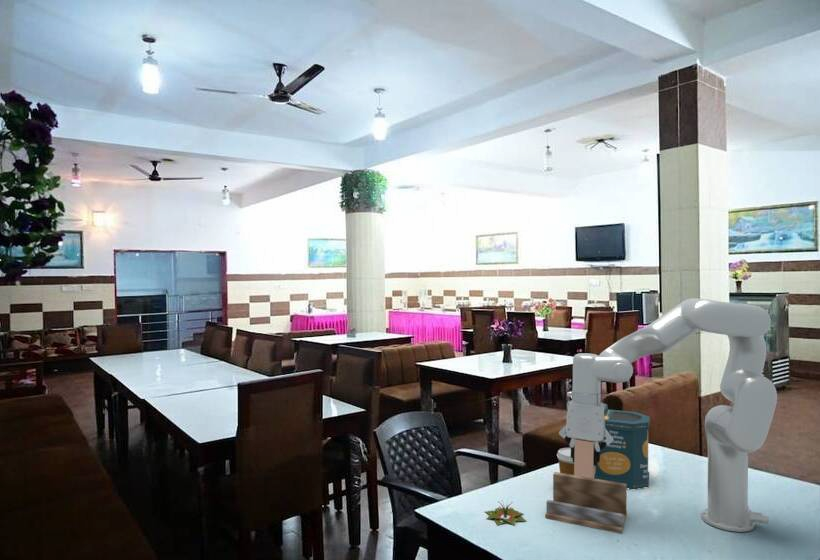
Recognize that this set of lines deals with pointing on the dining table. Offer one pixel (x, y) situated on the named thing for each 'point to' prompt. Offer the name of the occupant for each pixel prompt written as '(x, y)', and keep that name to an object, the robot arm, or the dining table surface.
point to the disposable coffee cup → (565, 461)
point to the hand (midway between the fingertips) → (585, 461)
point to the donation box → (625, 449)
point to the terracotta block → (584, 458)
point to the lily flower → (505, 515)
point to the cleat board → (588, 502)
